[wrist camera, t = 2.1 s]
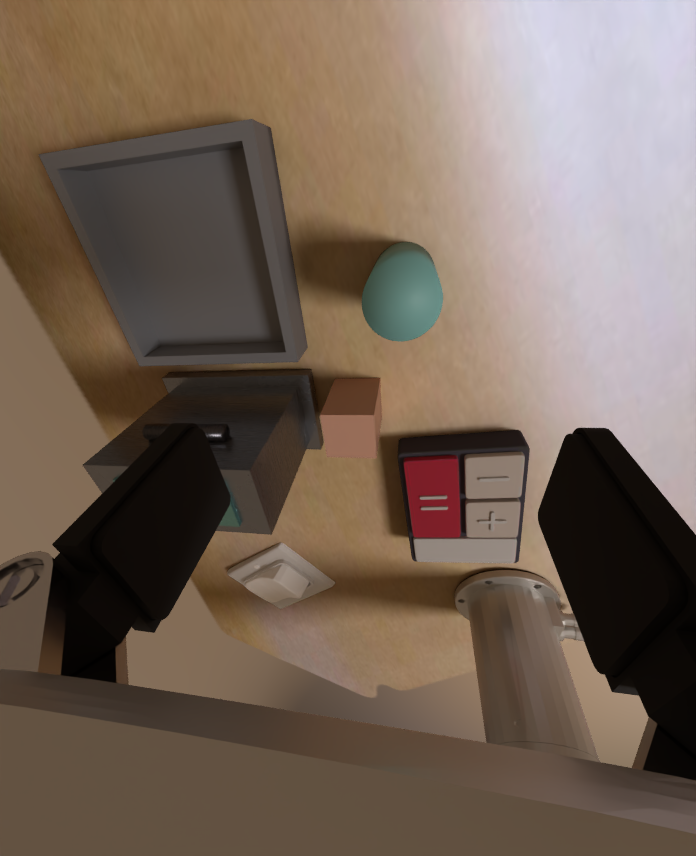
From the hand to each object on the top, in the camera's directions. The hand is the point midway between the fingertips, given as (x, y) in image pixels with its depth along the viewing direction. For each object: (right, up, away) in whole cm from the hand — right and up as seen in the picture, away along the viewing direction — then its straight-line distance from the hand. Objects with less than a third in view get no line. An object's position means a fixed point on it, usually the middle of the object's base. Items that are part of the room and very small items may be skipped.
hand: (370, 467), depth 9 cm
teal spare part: (+3, +12, +15) cm, 20 cm away
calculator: (+11, -5, +26) cm, 29 cm away
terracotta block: (0, +4, +21) cm, 22 cm away
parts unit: (-10, +3, +24) cm, 26 cm away
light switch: (-10, -20, +41) cm, 47 cm away
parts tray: (-12, +14, +17) cm, 24 cm away
